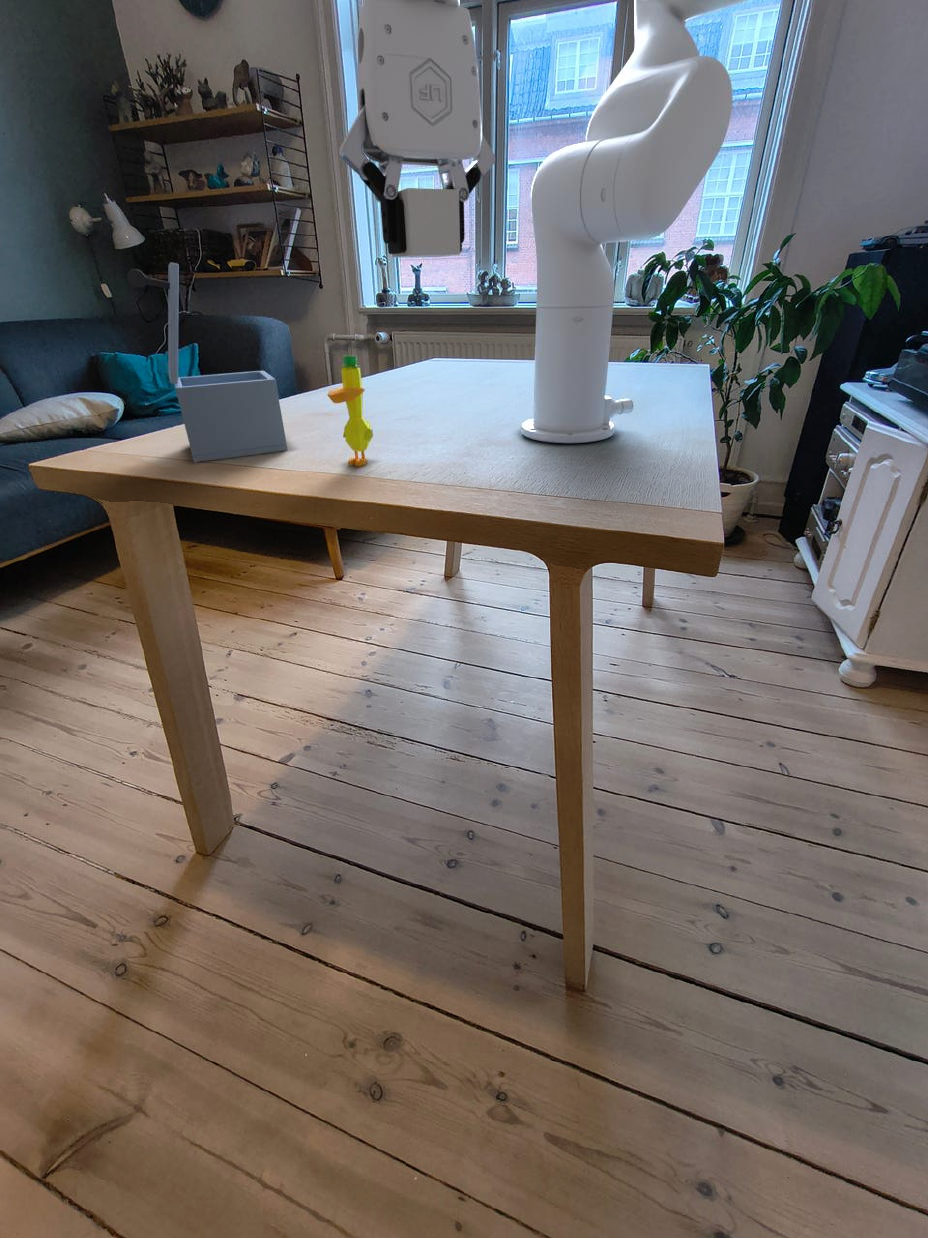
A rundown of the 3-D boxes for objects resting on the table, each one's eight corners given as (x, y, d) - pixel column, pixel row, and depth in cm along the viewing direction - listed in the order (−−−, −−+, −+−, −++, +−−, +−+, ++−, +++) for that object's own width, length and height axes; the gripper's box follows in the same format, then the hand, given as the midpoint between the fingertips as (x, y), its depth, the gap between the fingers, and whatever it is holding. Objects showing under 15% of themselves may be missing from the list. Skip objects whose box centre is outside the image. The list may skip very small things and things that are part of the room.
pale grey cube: (438, 256, 60) (436, 196, 57) (460, 254, 56) (459, 189, 53) (392, 257, 58) (387, 194, 55) (411, 255, 54) (407, 187, 51)
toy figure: (352, 473, 68) (338, 360, 62) (327, 469, 70) (311, 359, 64) (385, 458, 73) (375, 352, 67) (361, 455, 75) (350, 352, 69)
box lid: (175, 266, 72) (128, 254, 70) (178, 264, 65) (126, 251, 62) (175, 374, 77) (131, 367, 75) (177, 384, 70) (129, 376, 67)
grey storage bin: (275, 435, 86) (263, 370, 81) (287, 450, 78) (275, 379, 74) (190, 445, 82) (172, 377, 77) (194, 462, 74) (175, 387, 70)
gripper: (319, -53, 42) (350, 251, 51) (527, -14, 48) (521, 250, 57) (296, -11, 47) (327, 255, 56) (484, 18, 54) (485, 254, 63)
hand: (425, 250), depth 57 cm, fingers closed on pale grey cube, 5 cm apart
